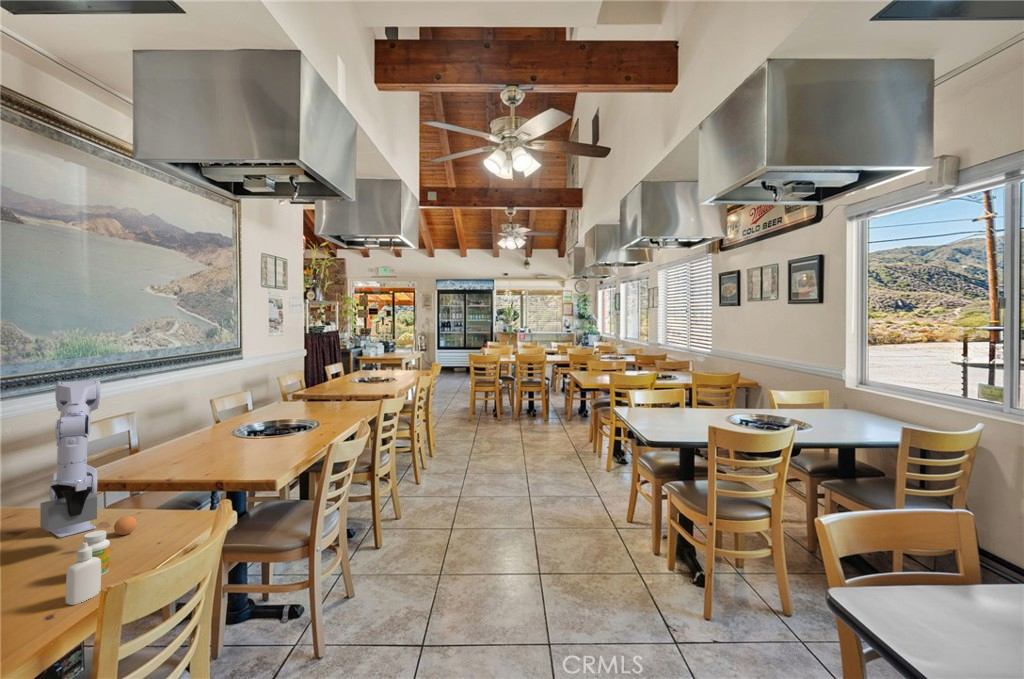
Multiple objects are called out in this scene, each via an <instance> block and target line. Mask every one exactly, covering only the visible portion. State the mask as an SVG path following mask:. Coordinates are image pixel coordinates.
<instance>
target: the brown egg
mask: <svg viewBox="0 0 1024 679" xmlns="http://www.w3.org/2000/svg"><path fill="white" fill-rule="evenodd" d="M137 523H138V522H137V519H136V518H135V517H134V516H131V515H130V516H129V515H125V516H123V517H120V518H118V520H116V521H115V523H114V526H113V530H114V533H116V534H117V535H120V536H125V535H128V534H131V533H132V532H133V531H134V530H135V529H136V528H137V525H138V524H137Z"/></svg>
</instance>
